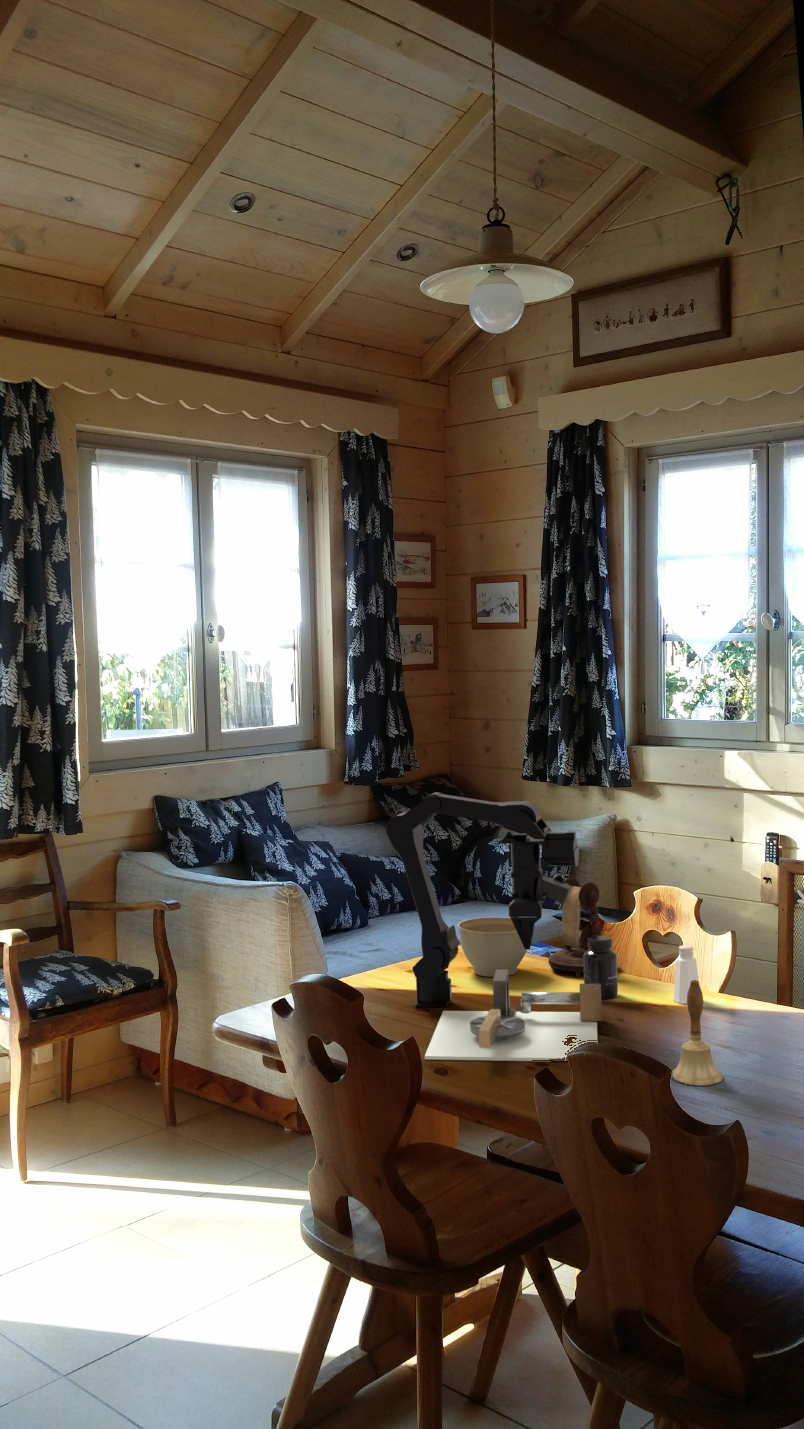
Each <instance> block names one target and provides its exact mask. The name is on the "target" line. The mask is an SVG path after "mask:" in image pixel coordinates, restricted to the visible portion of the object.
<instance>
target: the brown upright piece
mask: <svg viewBox="0 0 804 1429" xmlns="http://www.w3.org/2000/svg"><path fill="white" fill-rule="evenodd" d="M564 880H565V883H568V885H570V890H569V893H568V896H567V899H566V902H565V904H563V903H562V909H561V939H562V942H563V943H564V946H565V948H564V949H561V950H557V951H556V952H554V953H552V954H551V955H549V956H548V965H549V966H550V968H551V969H558V970H562V971H567V972H568V971H569V972H575V975H576V978H580V977H581V973H582V972H584V953H585V952H586V951H587V950H589V947H588V938H589V937H591V936H602V935H601V934H602V932H601V930H600V928H599V926H598V922H599V920H600V916H599V914H598V913H597V912H598V908H597V903H598V901H599V897H600V889H599V887H598V886H597V885H596V884H595V883H593V882H590V881H589V882H585V883H584V884H583V885H582V886H581V885H580V882H579V880H577V879H576V878H573V877H571V878H570V877H569V878H567V879H564ZM589 911H590V912H589ZM581 919H585V920H589V922H590V923H589V924H587V925H586V926H584V927H583V926H582V924H581Z"/></svg>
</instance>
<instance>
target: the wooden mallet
mask: <svg viewBox="0 0 804 1429" xmlns="http://www.w3.org/2000/svg"><path fill="white" fill-rule="evenodd" d="M519 1005H520V1006H519V1010H520V1011H519V1012H521V1013H530V1012H532V1008H531V1006H532V1005H579V1012H580V1021H597V1022H602V1021H603V1015H602V1013H603V1012H602V1010H603V1009H602V1000H601V984H584V983H579V991H578V992H575V991H574V992H572V991H571V992H569V991H568V992H567V991H566V992H565V991H564V992H562V991H560V992H559V991H558V992H557V991H556V992H555V991H549V992H548V991H522V992H521V998H520V999H519Z"/></svg>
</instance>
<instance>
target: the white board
mask: <svg viewBox="0 0 804 1429" xmlns="http://www.w3.org/2000/svg"><path fill="white" fill-rule="evenodd" d="M489 1011H490V1010H483V1011H482V1010H443V1011H442V1013H441V1016H440V1018H439V1021H438V1022H437V1025H436V1027H435V1030H434V1032H433V1035H432V1037H431V1040H430V1043H429V1045H428V1047H427V1049H426V1052H425V1054H424V1060H434V1061H436V1060H444V1061H451V1060H452V1061H499V1062H500V1061H501V1062H503V1061H505V1062H506V1061H507V1062H508V1061H509V1062H511V1061H512V1062H513V1061H514V1062H533V1061H532V1060H549V1059H558V1058H559V1059H562V1058H564V1057H565V1061H566V1057H567V1054H568V1053H569V1052H571V1051H572V1050H574V1048H576V1047H578V1046H579V1045H581V1044H584V1043H587V1042H597V1043H598V1021H580V1011H531V1012H530V1013H521V1012H520V1011H517V1010H515V1014H514V1017H518V1018H520V1019H522V1020H523V1021H524V1022H525V1031H524V1032H523V1033H522V1034H520V1035H517V1036H513V1037H508V1038H494V1040H493V1042H492V1044H491V1046H490V1048H479V1036H477V1035H474V1034H473V1033H471V1031H470V1022H471V1021H472V1020H473V1019H476V1018H478V1017H482V1016H487V1015H488V1013H489ZM568 1035H577V1036H568ZM567 1036H568V1037H567ZM569 1037H575V1038H577V1039H576V1040H575V1039H572V1041H573V1042H576V1043H570V1044H569V1045H571V1044H572V1046H569V1045H568V1046H567V1045H564V1042H565V1041H567V1039H565V1038H569ZM579 1040H581V1041H579ZM587 1040H597V1041H587ZM562 1041H564V1042H562ZM577 1041H578V1042H577ZM582 1041H586V1042H582ZM580 1042H582V1043H580ZM578 1043H580V1044H578ZM566 1044H567V1043H566ZM574 1045H576V1046H574ZM573 1046H574V1047H573ZM571 1047H573V1048H572V1049H571V1050H570V1048H571ZM568 1050H569V1052H567V1051H568ZM565 1053H567V1054H566V1055H565Z"/></svg>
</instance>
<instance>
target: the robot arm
mask: <svg viewBox="0 0 804 1429" xmlns="http://www.w3.org/2000/svg"><path fill="white" fill-rule="evenodd" d="M437 814H438V815H446V816H450V817H451V816H452V817H455V818H463V819H469V820H476V821H481V822H482V821H483V822H486V823H487V822H488V823H492V824H495V825H497V826H499V827H501V828H503V829H506V830H508V831H507V832H506V835H504V837H502V839H501V840H500V843H501V844H509V845H510V854H511V856H510V858H511V872H510V877H511V886H512V890H511V899H512V901H511V902H509V905H508V917H509V918H510V919H511V920H512V922H513V925H514V927H515V929H516V931H517V933H518V935H519V937H520V940H521V942H522V944H523V946H524V948H525V949H527V950H531V946H532V939H533V936H534V929H535V924H536V923H537V922H538V921H540V920H541V919H542V914H543V905H545V904H544V903H545V898H549V899H551V900H553V901H557V902H558V903H559V904H562V905H563V904H565V902H566V899H567V896H568V893H569V890H570V885H568V883H565V880H566V879H565V876H564V875H561V874H559V873H557V874H555V875H554V876H553V878H552V877H551V876H549V877H547V876H544V870H543V869H542V868H541V867H542V866H541V860H542V861H543V862H544V863H547V866H548V867H578V865H579V860H580V846H579V845H578V844H579V843H578V839H577V832H576V831H574V830H571V831H570V830H569V831H552V829H551V828H550V827H549V825H548V824H547V823H546V821H544V819H543V817H542V813H541V809H540V807H538V805H537V803H535V802H533V801H530V800H521V801H520V800H517V801H515V800H514V801H513V800H512V801H500V802H499V801H498V802H495V801H489V800H482V799H476V798H469V797H464V796H463V797H462V796H457V795H449V794H446V793H445V794H444V793H441V792H438V791H437V792H433V793H431V794H428V795H427V796H426V797H425V798H424V799H423V800H422V801H420V802H419V803H418V804H416V805H415V806H413V807H412V808H411V809H409V810H408V811H404V812H402V813H399V814H396V815H395V816H393V817H391V818H389V820H388V821H387V823H386V825H385V834H386V836H387V838H388V841H389V842H390V844H391V846H392V849H393V850H394V851H395V853H396V854H397V855H398V856H399V857H400V859H401V861H402V864H403V868H404V871H405V874H406V877H407V882H408V884H409V888H410V892H411V895H412V898H413V901H414V904H415V908H416V911H417V915H418V918H419V922H420V925H421V938H420V942H421V951H422V957H421V958H420V959H419V960H418V962H416V963H415V964H414V965H413V966H412V968H411V969H412V971H413V974H414V977H415V981H416V982H415V983H416V1001H415V1007H438V1008H439V1007H440V1008H441V1007H442V1008H443V1007H448V1006H449V1003H450V1002H451V1000H452V996H453V995H452V994H453V993H452V979H451V977H449V971H448V970H447V969H448V968H449V966H450V963H452V962H453V960H455V958H456V957H457V955H458V953H459V945H461V942H460V939H458V937H457V933H456V931H457V930H456V926H455V925H454V924H452V925H450V926H448V924H447V923H446V922H445V921H444V919H443V916H442V914H441V911H440V906H439V903H438V900H437V896H436V894H435V890H434V887H433V884H432V879H431V876H430V873H429V869H428V866H427V864H426V863H427V862H426V860H425V859H426V858H425V856H424V832H423V826H424V825H425V824H426V823H427V822H429V821H430V820H431V819H433V818H434V816H435V817H436V816H437ZM541 858H542V859H541Z"/></svg>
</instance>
